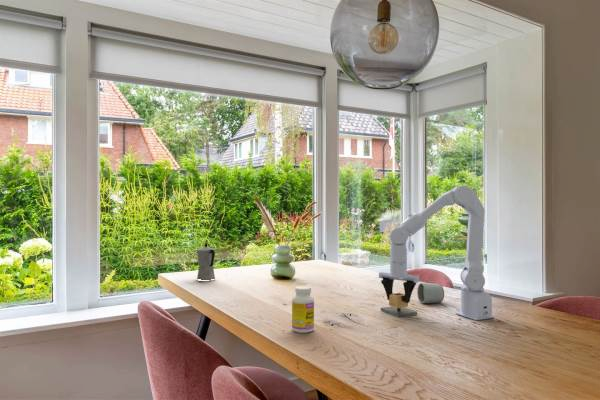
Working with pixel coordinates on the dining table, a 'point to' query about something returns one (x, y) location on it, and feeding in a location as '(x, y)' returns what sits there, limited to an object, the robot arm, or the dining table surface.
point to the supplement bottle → (303, 310)
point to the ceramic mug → (430, 293)
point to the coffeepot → (206, 263)
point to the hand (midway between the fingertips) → (398, 300)
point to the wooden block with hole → (397, 300)
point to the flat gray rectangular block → (399, 311)
